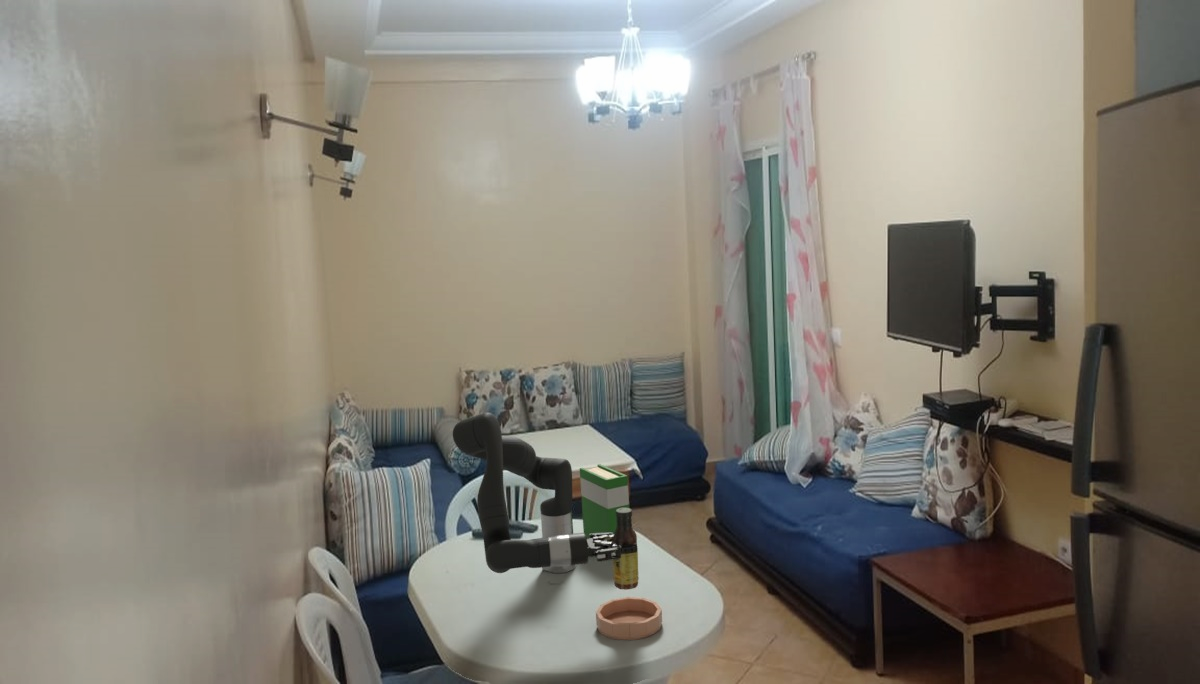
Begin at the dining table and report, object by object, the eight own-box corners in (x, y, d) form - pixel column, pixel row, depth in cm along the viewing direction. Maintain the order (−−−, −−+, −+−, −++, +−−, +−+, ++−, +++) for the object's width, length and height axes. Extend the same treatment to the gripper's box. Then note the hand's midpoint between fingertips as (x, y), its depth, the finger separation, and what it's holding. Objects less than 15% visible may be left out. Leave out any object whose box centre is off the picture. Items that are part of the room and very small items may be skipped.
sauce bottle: (612, 582, 228) (609, 506, 226) (637, 580, 229) (634, 504, 226) (615, 592, 222) (611, 514, 219) (640, 590, 222) (637, 512, 220)
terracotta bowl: (590, 637, 221) (589, 622, 221) (607, 610, 236) (606, 595, 236) (653, 642, 217) (653, 626, 216) (667, 614, 232) (666, 599, 231)
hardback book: (584, 540, 290) (579, 468, 287) (604, 535, 294) (600, 464, 291) (610, 556, 275) (606, 480, 272) (631, 551, 278) (627, 475, 275)
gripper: (570, 545, 214) (639, 538, 217) (563, 526, 228) (628, 519, 231) (572, 575, 215) (640, 567, 218) (564, 554, 229) (629, 547, 232)
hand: (634, 543), depth 224 cm, fingers closed on sauce bottle, 6 cm apart
